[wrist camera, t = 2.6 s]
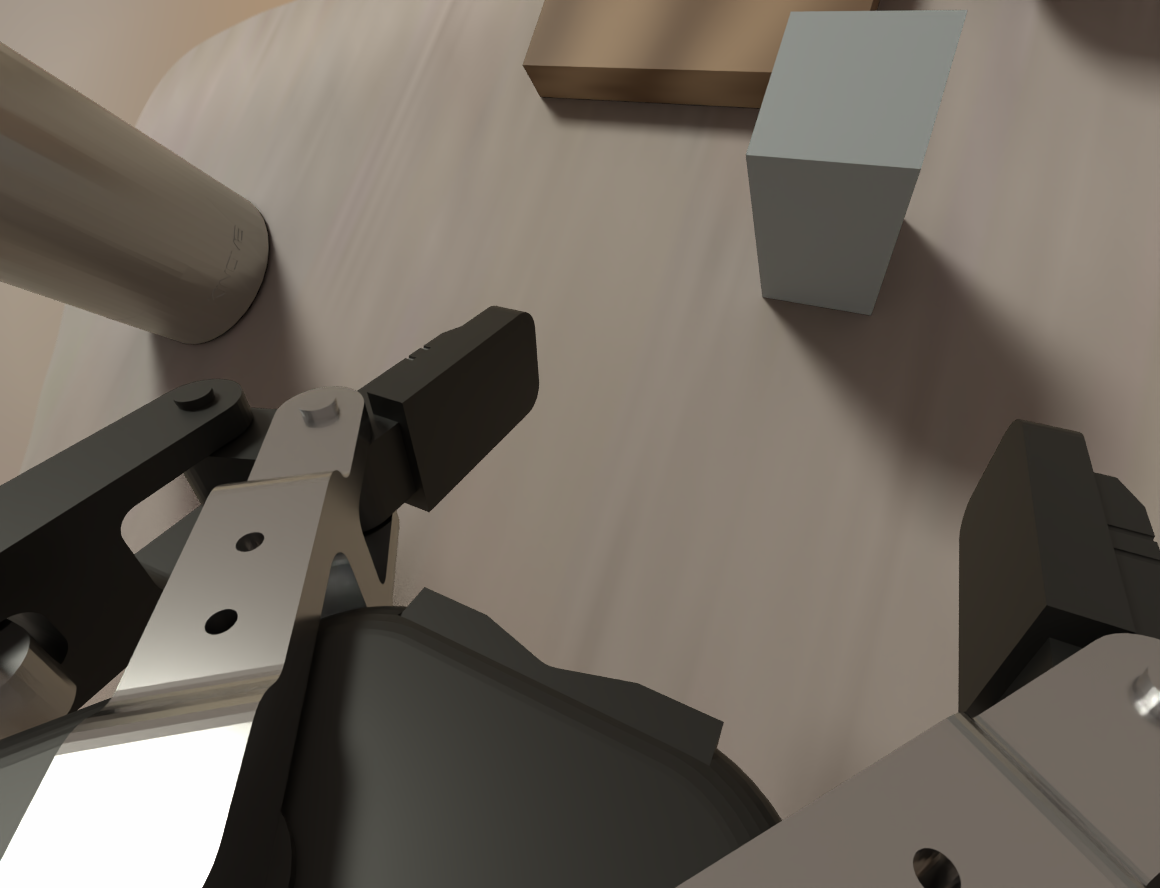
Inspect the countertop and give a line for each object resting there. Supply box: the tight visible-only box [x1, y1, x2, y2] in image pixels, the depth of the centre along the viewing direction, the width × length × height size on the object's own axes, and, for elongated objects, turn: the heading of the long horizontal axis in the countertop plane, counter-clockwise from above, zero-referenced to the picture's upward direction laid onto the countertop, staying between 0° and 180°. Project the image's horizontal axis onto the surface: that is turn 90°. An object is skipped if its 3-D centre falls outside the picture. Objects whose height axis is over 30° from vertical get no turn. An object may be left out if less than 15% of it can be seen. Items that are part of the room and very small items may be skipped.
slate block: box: [746, 10, 967, 315], centre depth 18 cm, size 4×4×9 cm
